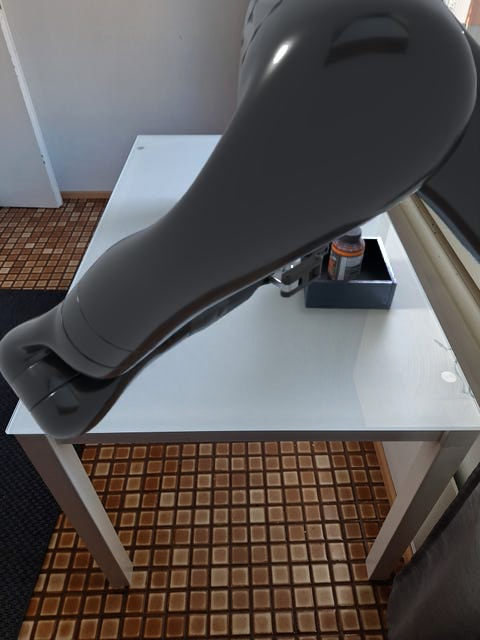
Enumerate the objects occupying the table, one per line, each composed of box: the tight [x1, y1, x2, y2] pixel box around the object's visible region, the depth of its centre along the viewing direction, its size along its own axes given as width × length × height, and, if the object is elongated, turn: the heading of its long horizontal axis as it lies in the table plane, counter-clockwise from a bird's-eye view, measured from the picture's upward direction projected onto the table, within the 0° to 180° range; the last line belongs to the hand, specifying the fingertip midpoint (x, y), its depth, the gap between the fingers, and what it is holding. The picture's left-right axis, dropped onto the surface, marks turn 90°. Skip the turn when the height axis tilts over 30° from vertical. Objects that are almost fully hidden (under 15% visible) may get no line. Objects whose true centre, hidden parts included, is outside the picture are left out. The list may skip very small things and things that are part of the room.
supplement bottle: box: [328, 226, 365, 280], centre depth 89 cm, size 6×6×11 cm
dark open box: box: [299, 236, 398, 310], centre depth 91 cm, size 16×16×6 cm
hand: (297, 228), depth 58 cm, fingers open, 8 cm apart
